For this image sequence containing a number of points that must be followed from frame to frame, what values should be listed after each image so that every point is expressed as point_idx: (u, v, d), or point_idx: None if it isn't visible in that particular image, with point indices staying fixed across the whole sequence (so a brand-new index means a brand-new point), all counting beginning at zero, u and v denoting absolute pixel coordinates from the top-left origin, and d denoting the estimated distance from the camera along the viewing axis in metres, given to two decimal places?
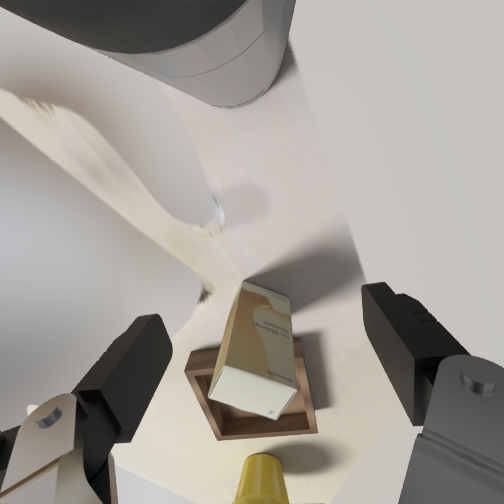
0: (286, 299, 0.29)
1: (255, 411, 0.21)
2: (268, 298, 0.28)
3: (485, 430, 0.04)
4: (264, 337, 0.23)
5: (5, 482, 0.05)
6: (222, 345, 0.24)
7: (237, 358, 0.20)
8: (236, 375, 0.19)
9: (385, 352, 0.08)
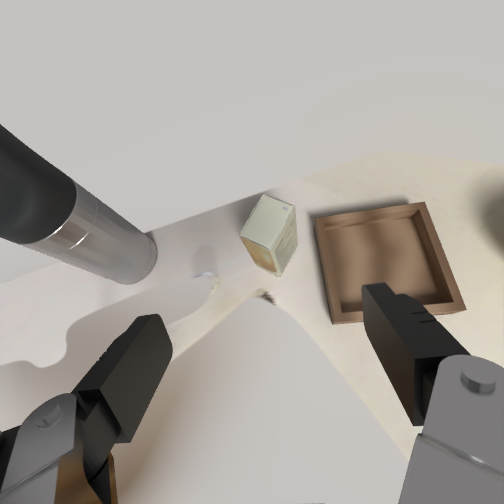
0: None
1: (284, 218, 0.28)
2: None
3: (486, 430, 0.04)
4: None
5: (5, 482, 0.05)
6: (264, 258, 0.32)
7: None
8: (247, 228, 0.29)
9: (385, 352, 0.08)
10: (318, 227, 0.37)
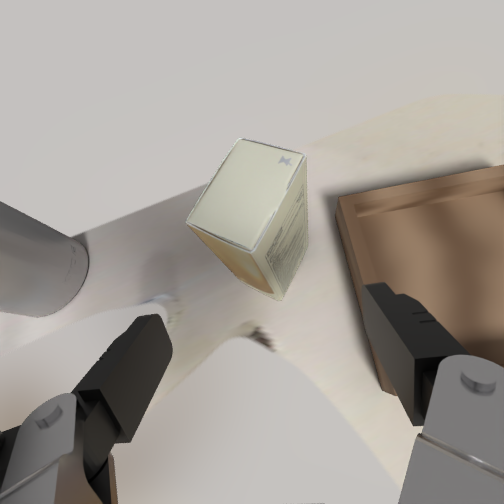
0: None
1: (283, 181, 0.13)
2: None
3: (485, 430, 0.04)
4: None
5: (5, 482, 0.05)
6: (247, 270, 0.16)
7: None
8: (204, 207, 0.13)
9: (385, 352, 0.08)
10: (345, 212, 0.21)
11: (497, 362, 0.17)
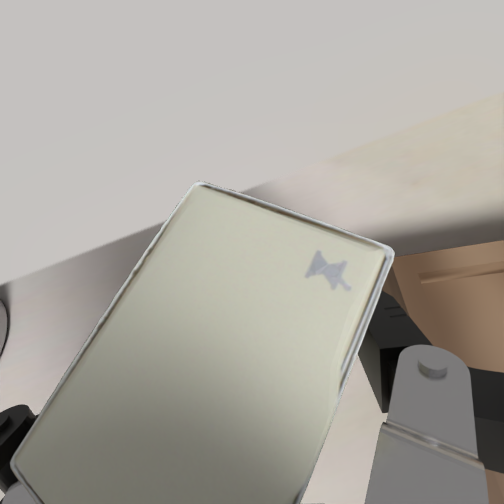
0: None
1: (327, 353, 0.04)
2: None
3: (440, 411, 0.04)
4: None
5: None
6: None
7: None
8: (71, 412, 0.04)
9: None
10: (403, 288, 0.12)
11: None
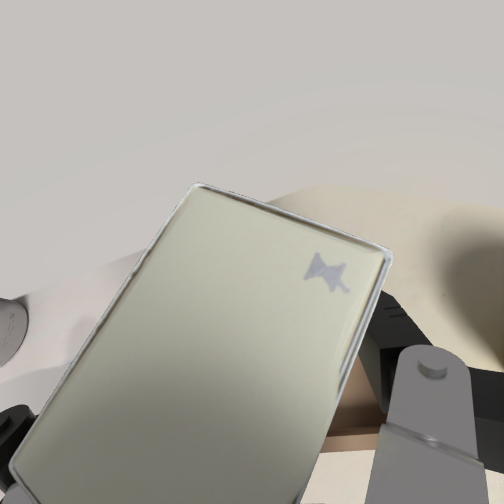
0: None
1: (325, 355, 0.04)
2: None
3: (440, 411, 0.04)
4: None
5: None
6: None
7: None
8: (69, 414, 0.04)
9: (361, 345, 0.08)
10: None
11: None
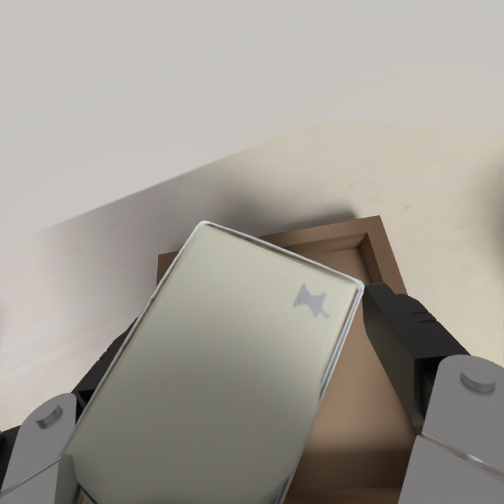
0: None
1: (310, 369, 0.05)
2: None
3: (485, 430, 0.04)
4: None
5: (5, 482, 0.05)
6: None
7: None
8: (104, 419, 0.05)
9: (385, 352, 0.08)
10: (159, 276, 0.17)
11: (299, 486, 0.13)
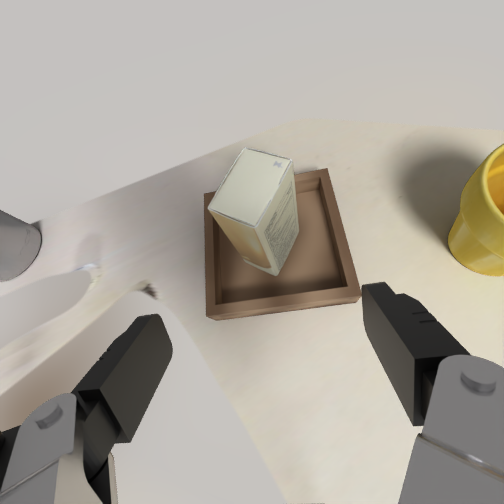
0: None
1: (276, 178, 0.18)
2: None
3: (486, 430, 0.04)
4: None
5: (5, 482, 0.05)
6: (251, 246, 0.22)
7: None
8: (220, 197, 0.19)
9: (385, 352, 0.08)
10: (205, 204, 0.31)
11: None
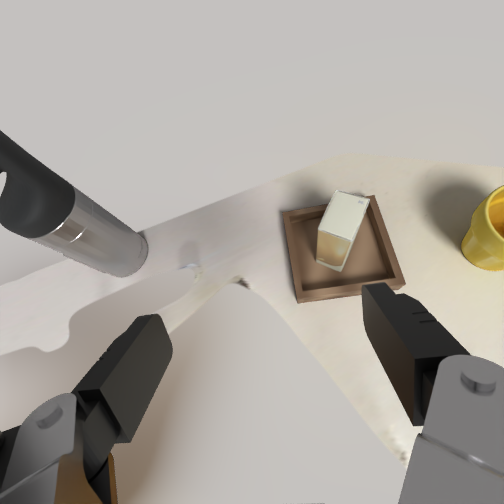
0: None
1: (361, 211, 0.30)
2: None
3: (486, 430, 0.04)
4: None
5: (5, 482, 0.05)
6: (336, 251, 0.33)
7: None
8: (325, 222, 0.30)
9: (385, 352, 0.08)
10: (284, 220, 0.43)
11: None
